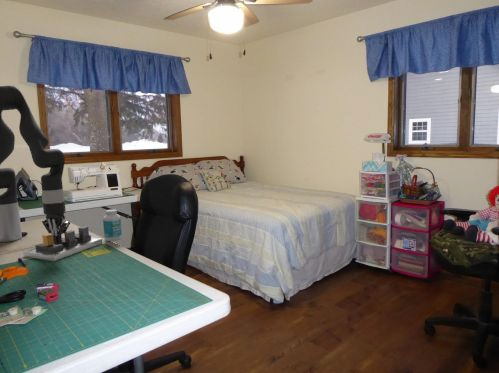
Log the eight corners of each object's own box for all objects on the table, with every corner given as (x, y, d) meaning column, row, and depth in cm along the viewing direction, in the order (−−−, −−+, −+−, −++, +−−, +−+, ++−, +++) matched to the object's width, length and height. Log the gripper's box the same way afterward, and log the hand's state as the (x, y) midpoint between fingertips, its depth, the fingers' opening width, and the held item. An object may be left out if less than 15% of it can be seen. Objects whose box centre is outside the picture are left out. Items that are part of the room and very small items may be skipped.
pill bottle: (116, 242, 157) (113, 212, 155) (101, 241, 159) (98, 212, 157) (125, 237, 164) (123, 208, 163) (110, 236, 166) (108, 208, 164)
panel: (23, 256, 141) (21, 236, 140) (74, 239, 163) (72, 222, 162) (54, 261, 134) (52, 240, 133) (102, 243, 156) (101, 225, 155)
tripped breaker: (43, 245, 141) (42, 235, 140) (50, 242, 143) (49, 233, 143) (47, 245, 140) (46, 235, 139) (54, 243, 142) (53, 233, 142)
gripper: (32, 201, 136) (37, 245, 139) (57, 203, 131) (62, 248, 134) (50, 198, 143) (54, 240, 146) (74, 200, 138) (78, 243, 141)
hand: (58, 244), depth 140 cm, fingers closed
